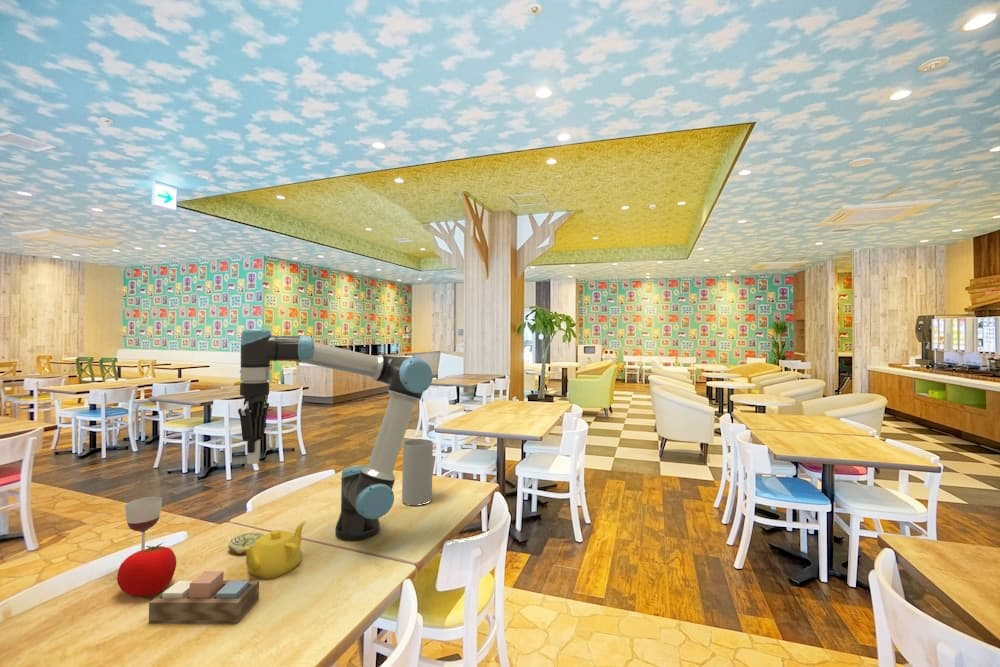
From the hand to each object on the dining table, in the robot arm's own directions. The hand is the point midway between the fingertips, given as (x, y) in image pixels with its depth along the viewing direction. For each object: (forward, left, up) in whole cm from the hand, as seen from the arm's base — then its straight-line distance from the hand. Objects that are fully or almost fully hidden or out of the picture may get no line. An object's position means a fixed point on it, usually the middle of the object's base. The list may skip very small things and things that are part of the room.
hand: (253, 463), depth 130 cm
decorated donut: (+10, -17, -33) cm, 38 cm away
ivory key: (+9, +17, -31) cm, 37 cm away
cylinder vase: (-38, -61, -33) cm, 79 cm away
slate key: (-5, +17, -31) cm, 36 cm away
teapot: (-6, -4, -33) cm, 33 cm away
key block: (+2, +17, -32) cm, 37 cm away
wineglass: (+33, -3, -33) cm, 46 cm away
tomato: (+23, +8, -33) cm, 41 cm away
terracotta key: (+2, +17, -29) cm, 34 cm away
